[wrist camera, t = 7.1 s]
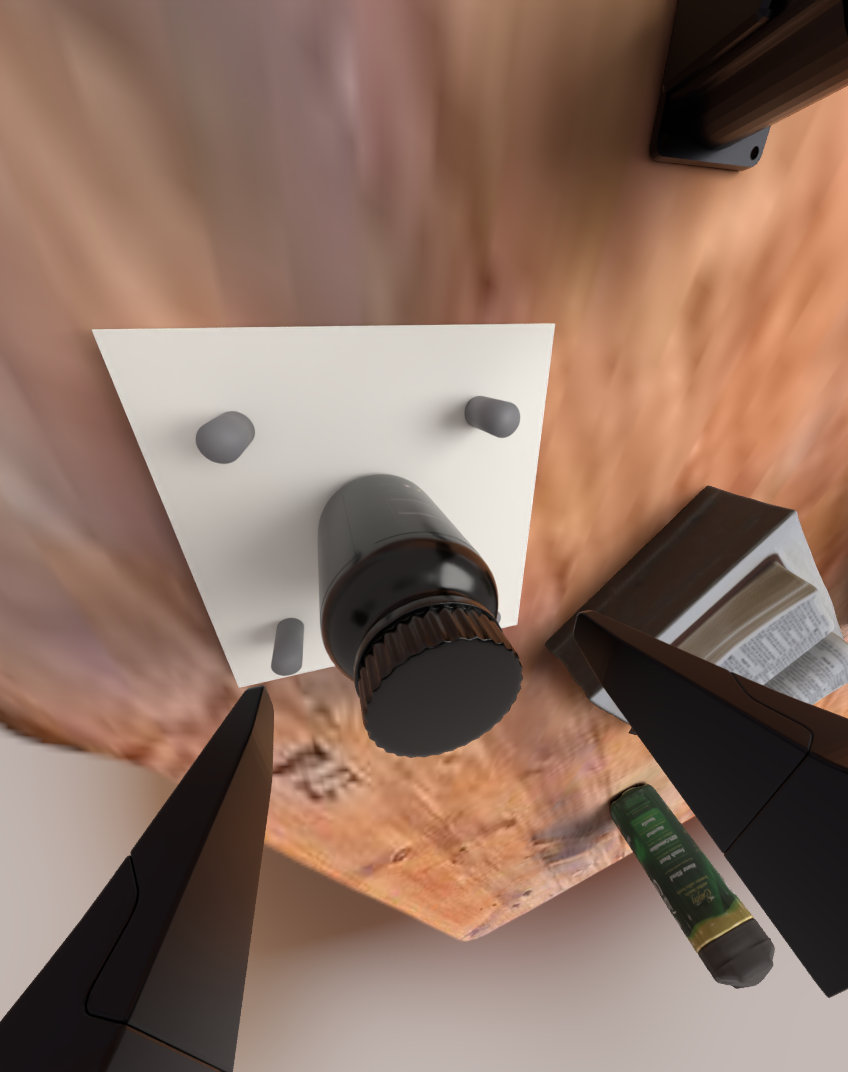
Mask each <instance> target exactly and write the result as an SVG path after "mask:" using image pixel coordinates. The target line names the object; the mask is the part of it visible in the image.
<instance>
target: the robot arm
mask: <svg viewBox="0 0 848 1072" xmlns="http://www.w3.org/2000/svg"><path fill="white" fill-rule="evenodd" d="M846 86H848V0H678V5H677V10H676V15H675V20H674V25H673V30H672V35H671V41H670V46H669V51H668V56H667V61H666V66H665V71H664V76H663V81H662V86H661V92H660V97H659V102H658V107H657V112H656V117H655V122H654V127H653V132H652V138H651V143H650V156H651V157H652V159H653V160H655V161H662V162H671V163H680V164H689V165H697V166H706V167H715V168H723V169H732V170H741V171H743V170H746V169H749V168H751V167H753V166H755V165H756V164H757V163H758V161H759V160H760V158H761V155H762V153H763V149H764V146H765V143H766V140H767V136H768V133H769V130H770V126H771V125H773V124H775V123H777V122H778V121H780V120H782V119H784V118H786V117H788V116H790V115H792V114H794V113H796V112H798V111H800V110H802V109H804V108H806V107H808V106H809V105H811V104H813V103H815V102H817V101H819V100H821V99H823V98H825V97H827V96H829V95H831V94H833V93H835V92H837V91H839V90H841V89H842V88H844V87H846ZM662 140H663V148H662V146H661V141H662ZM573 636H574V639H575V641H576V643H577V645H578V646H579V648H580V650H581V651H582V653H583V655H584V657H585V658H586V660H587V662H588V663H589V665H590V667H591V668H592V670H593V672H594V674H595V675H596V677H597V679H598V680H599V682H600V683H601V685H602V686H603V688H604V689H605V691H606V692H607V694H608V695H609V696H610V698H611V699H612V701H613V702H614V703H615V705H616V706H617V708H618V709H619V710H620V712H621V713H622V714H623V716H624V717H625V719H626V720H627V721H628V723H629V724H630V726H631V727H632V728H633V730H634V731H635V732H636V734H637V735H638V737H639V738H640V739H641V741H642V742H643V744H644V745H645V746H646V748H647V749H648V750H649V752H650V753H651V755H652V756H653V757H654V759H655V760H656V762H657V763H658V764H659V766H660V767H661V768H662V770H663V771H664V773H665V774H666V775H667V777H668V778H669V780H670V781H671V782H672V784H673V785H674V787H675V788H676V789H677V791H678V792H679V793H680V795H681V796H682V798H683V799H684V800H685V802H686V803H687V805H688V806H689V807H690V809H691V810H692V811H693V813H694V814H695V816H696V817H697V818H698V820H699V821H700V822H701V824H702V825H703V826H704V828H705V829H706V830H707V832H708V834H709V835H710V836H711V838H712V839H713V840H714V842H715V843H716V845H717V846H718V848H719V849H720V850H721V852H722V853H724V856H725V858H726V859H727V860H728V861H729V863H730V864H731V866H732V867H733V868H734V870H735V871H736V873H737V874H738V876H739V877H740V878H741V880H742V881H743V882H744V884H745V885H746V887H747V888H748V889H749V891H750V892H751V894H752V895H753V896H754V897H755V899H756V900H757V902H758V903H759V905H760V906H761V907H762V909H763V910H764V911H765V913H766V914H767V916H768V917H769V919H770V920H771V921H772V923H773V924H774V925H775V927H776V928H777V929H778V931H779V932H780V934H781V935H782V937H783V938H784V939H785V941H786V942H787V943H788V945H789V946H790V947H791V949H792V950H793V952H794V953H795V955H796V956H797V957H798V959H799V960H800V961H801V963H802V964H803V966H804V967H805V968H806V970H807V971H808V973H809V974H810V975H811V977H812V978H813V980H814V981H815V982H816V983H817V985H818V986H819V987H820V988H821V990H822V991H823V992H824V993H825V995H826V996H827V997H828V998H830V997H832V996H835V995H837V994H839V993H841V992H843V991H845V990H847V989H848V719H847V718H845V717H842V716H840V715H837V714H834V713H832V712H829V711H827V710H824V709H821V708H819V707H816V706H814V705H811V704H808V703H806V702H803V701H801V700H798V699H796V698H793V697H791V696H788V695H786V694H783V693H781V692H778V691H775V690H773V689H771V688H768V687H766V686H764V685H761V684H759V683H757V682H754V681H752V680H750V679H747V678H745V677H743V676H741V675H738V674H736V673H734V672H729V670H727V669H725V668H722V667H720V666H718V665H715V664H713V663H711V662H709V661H706V660H704V659H702V658H700V657H697V656H695V655H693V654H690V653H688V652H686V651H684V650H681V649H679V648H677V647H675V646H672V645H670V644H668V643H665V642H663V641H661V640H659V639H656V638H654V637H652V636H650V635H647V634H645V633H643V632H641V631H638V630H636V629H634V628H631V627H629V626H627V625H625V624H622V623H620V622H618V621H616V620H613V619H611V618H609V617H606V616H604V615H602V614H600V613H597V612H595V611H592V610H588V611H583V612H580V613H578V615H577V617H576V622H575V626H574V631H573ZM273 732H274V710H273V705H272V702H271V700H270V697H269V694H268V691H267V689H266V687H265V686H263V685H261V686H256V687H252V688H248V689H247V690H246V691H245V692H244V693H243V694H242V696H241V697H240V699H239V700H238V701H237V703H236V704H235V706H234V707H233V708H232V710H231V711H230V713H229V714H228V715H227V717H226V718H225V720H224V721H223V722H222V724H221V725H220V727H219V728H218V729H217V731H216V732H215V734H214V735H213V737H212V738H211V739H210V741H209V742H208V744H207V745H206V746H205V748H204V749H203V751H202V752H201V753H200V755H199V756H198V758H197V759H196V760H195V762H194V763H193V765H192V766H191V767H190V769H189V770H188V772H187V773H186V774H185V776H184V777H183V779H182V780H181V781H180V783H179V784H178V786H177V787H176V788H175V790H174V791H173V793H172V794H171V796H170V797H169V798H168V800H167V801H166V803H165V804H164V805H163V807H162V808H161V810H160V811H159V812H158V814H157V815H156V817H155V818H154V819H153V821H152V822H151V824H150V825H149V826H148V828H147V829H146V831H145V832H144V833H143V835H142V836H141V838H140V839H139V840H138V842H137V843H136V845H135V846H134V847H133V849H132V851H131V856H127V857H126V858H125V860H124V861H123V863H122V864H121V865H120V867H119V868H118V870H117V871H116V872H115V874H114V875H113V877H112V878H111V879H110V881H109V882H108V884H107V885H106V886H105V888H104V889H103V890H102V892H101V893H100V894H99V896H98V897H97V899H96V900H95V901H94V903H93V904H92V906H91V907H90V908H89V910H88V911H87V912H86V913H85V915H84V916H83V918H82V919H81V920H80V922H79V923H78V924H77V925H76V927H75V928H74V929H73V931H72V932H71V933H70V934H69V936H68V937H67V938H66V940H65V941H64V942H63V944H62V945H61V946H60V947H59V949H58V950H57V951H56V952H55V954H54V955H53V956H52V957H51V959H50V960H49V961H48V963H47V964H46V965H45V966H44V968H43V969H42V970H41V971H40V973H39V974H38V975H37V977H36V978H35V979H34V980H33V981H32V983H31V984H30V985H29V986H28V988H27V989H26V990H25V991H24V993H23V994H22V995H21V996H20V998H19V999H18V1000H17V1002H16V1003H15V1004H14V1005H13V1006H12V1008H11V1009H10V1010H9V1011H8V1013H7V1014H6V1015H5V1016H4V1018H3V1019H2V1020H1V1021H0V1072H233V1066H234V1059H235V1051H236V1044H237V1037H238V1030H239V1022H240V1015H241V1007H242V1000H243V992H244V985H245V977H246V970H247V963H248V956H249V948H250V940H251V934H252V925H253V919H254V911H255V904H256V896H257V889H258V882H259V875H260V867H261V860H262V852H263V845H264V838H265V830H266V823H267V815H268V808H269V801H270V793H271V785H272V770H273Z"/></svg>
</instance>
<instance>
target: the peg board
mask: <svg viewBox="0 0 848 1072" xmlns="http://www.w3.org/2000/svg"><path fill="white" fill-rule="evenodd" d="M554 329H555V323H554V324H476V325H398V326H320V327H241V328H163V329H91V330H92V332H93V334H94V337H95V339H96V342H97V344H98V347H99V349H100V351H101V354H102V356H103V359H104V361H105V364H106V366H107V368H108V371H109V373H110V376H111V378H112V381H113V383H114V386H115V388H116V390H117V393H118V395H119V398H120V400H121V403H122V405H123V407H124V410H125V412H126V415H127V417H128V420H129V422H130V424H131V427H132V429H133V432H134V434H135V437H136V439H137V441H138V444H139V446H140V449H141V451H142V454H143V456H144V458H145V461H146V463H147V466H148V468H149V471H150V473H151V475H152V478H153V480H154V483H155V485H156V488H157V490H158V492H159V495H160V497H161V500H162V502H163V505H164V507H165V509H166V512H167V514H168V517H169V519H170V522H171V524H172V526H173V529H174V531H175V534H176V536H177V539H178V541H179V543H180V546H181V548H182V551H183V553H184V556H185V558H186V560H187V563H188V565H189V568H190V570H191V573H192V575H193V577H194V580H195V582H196V585H197V587H198V590H199V592H200V594H201V597H202V599H203V602H204V604H205V607H206V609H207V611H208V614H209V616H210V619H211V621H212V624H213V626H214V628H215V631H216V633H217V636H218V638H219V641H220V643H221V645H222V648H223V650H224V653H225V655H226V658H227V660H228V662H229V665H230V667H231V670H232V672H233V675H234V677H235V679H236V682H237V684H238V687H239V688H240V687H244V686H248V685H253V684H257V683H262V682H266V681H271V680H275V679H279V678H284V677H288V676H293V675H297V674H301V673H306V672H310V671H315V670H319V669H324V668H328V667H332V666H335V665H334V663H333V662H332V661H331V659H330V658H329V656H328V654H327V652H326V650H325V647H324V644H323V641H322V636H321V628H320V611H319V577H318V543H317V542H318V525H319V520H320V516H321V514H322V511H323V509H324V507H325V505H326V504H327V502H328V501H329V499H330V498H331V497H332V496H333V495H334V494H335V493H336V492H337V491H338V490H339V489H340V488H341V487H343V486H344V485H346V484H347V483H349V482H351V481H353V480H355V479H357V478H360V477H363V476H367V475H373V474H390V475H395V476H399V477H402V478H405V479H407V480H409V481H411V482H413V483H414V484H416V485H417V486H418V487H420V488H421V489H422V490H423V491H424V492H425V493H426V494H427V495H428V496H429V497H430V498H431V499H432V501H433V502H434V503H435V504H436V505H437V506H438V507H439V509H440V510H441V511H442V512H443V513H444V514H445V515H446V517H447V518H448V519H449V520H450V521H451V522H452V523H453V525H454V526H455V527H456V528H457V529H458V530H459V531H460V533H461V534H462V535H463V536H464V537H465V538H466V539H467V541H468V542H469V543H470V544H471V545H472V546H473V547H474V549H475V550H476V551H477V552H478V553H479V554H480V556H481V557H482V558H483V560H484V561H485V562H486V564H487V565H488V567H489V568H490V570H491V572H492V574H493V576H494V579H495V582H496V585H497V590H498V602H499V605H498V615H497V622H498V623H499V625H500V627H501V628H504V627H509V626H513V625H517V621H518V613H519V605H520V597H521V590H522V582H523V574H524V566H525V558H526V550H527V542H528V534H529V526H530V518H531V511H532V503H533V495H534V487H535V479H536V471H537V463H538V455H539V447H540V440H541V432H542V424H543V416H544V408H545V400H546V392H547V384H548V376H549V368H550V361H551V353H552V345H553V337H554Z"/></svg>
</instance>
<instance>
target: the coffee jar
mask: <svg viewBox="0 0 848 1072" xmlns="http://www.w3.org/2000/svg"><path fill="white" fill-rule="evenodd" d="M611 816H612V819H613V821H614V822H615V824H616V826H617V827H618V829H619V830H620V832H621V834H622V835H623V837H624V838H625V840H626V841H627V843H628V844H629V846H630V848H631V849H632V851H633V852H634V854H635V855H636V857H637V859H638V860H639V862H640V864H641V865H642V867H643V869H644V870H645V871H646V873H647V875H648V877H649V878H650V880H651V881H652V883H653V885H654V886H655V888H656V889H657V891H658V893H659V894H660V896H661V897H662V899H663V901H664V902H665V904H666V905H667V907H668V909H669V910H670V912H671V913H672V914H673V916H674V918H675V919H676V921H677V922H678V924H679V926H680V927H681V929H682V930H683V932H684V934H685V935H686V937H687V938H688V940H689V941H690V943H691V944H692V946H693V948H694V949H695V951H696V952H697V953H698V955H699V957H700V958H701V960H702V961H703V963H704V964H705V966H706V967H707V969H708V970H709V972H710V973H711V974H712V976H713V978H714V979H715V981H717V982H718V983H721V984H725V985H731V986H733V987H734V988H737V989H738V988H744V987H750V986H755V985H757V984H759V983H760V982H761V981H762V980H763V979H764V978H765V976H766V975H767V974H768V972H769V971H770V970H771V968H772V967H773V961H772V959H773V955H774V950H775V948H774V945H773V943H772V942H771V939H770V938H768V936H767V935H766V933H765V932H764V931H763V929H762V928H761V927H760V925H759V924H758V922H757V921H756V920H755V919H754V918H753V916H752V915H751V913H750V912H749V911H748V910H747V908H746V907H745V906H744V905H743V903H742V902H741V901H740V900H739V898H738V897H737V896H736V895H735V893H734V892H733V891H732V889H731V888H730V887H729V886H728V884H727V883H726V882H725V881H724V879H723V878H722V877H721V875H720V874H719V873H718V872H717V870H716V869H715V868H714V866H713V865H712V864H711V863H710V861H709V860H708V859H707V857H706V856H705V855H704V853H703V852H702V851H701V849H700V848H699V847H698V845H697V844H696V843H695V842H694V840H693V839H692V838H691V836H690V835H689V834H688V832H687V831H686V830H685V829H684V827H683V826H682V825H681V823H680V822H679V821H678V819H677V818H676V817H675V815H674V814H673V813H672V811H671V810H670V809H669V807H668V806H667V805H666V803H665V802H664V801H663V799H662V798H661V797H660V795H659V794H658V793H657V791H656V790H655V789H654V788H653V787H652V786H651V785H649V784H645V785H643V786H639V787H632V788H630V789H628V790H626V791H625V792H623V793H622V796H621V797H620V798H618V799H617V800H616V801H614V802H613V803H612V804H611Z"/></svg>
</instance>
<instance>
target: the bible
mask: <svg viewBox="0 0 848 1072" xmlns="http://www.w3.org/2000/svg"><path fill="white" fill-rule="evenodd" d="M588 610H592V611H595V612H597V613H600V614H602V615H604V616H606V617H609V618H611V619H613V620H616V621H618V622H620V623H622V624H625V625H627V626H629V627H631V628H634V629H636V630H638V631H641V632H643V633H645V634H647V635H650V636H652V637H654V638H656V639H659V640H661V641H663V642H665V643H668V644H670V645H672V646H675V647H677V648H679V649H681V650H684V651H686V652H688V653H690V654H693V655H695V656H697V657H700V658H702V659H704V660H706V661H709V662H711V663H713V664H715V665H718V666H720V667H722V668H725V669H727V670H729V672H734V673H736V674H738V675H741V676H743V677H745V678H747V679H750V680H752V681H754V682H757V683H759V684H761V685H764V686H766V687H768V688H771V689H773V690H775V691H778V692H781V693H783V694H786V695H788V696H791V697H793V698H796V699H798V700H801V701H803V702H806V703H808V704H811V705H813V704H815V703H816V702H818V701H819V700H821V699H822V698H824V697H825V696H827V695H828V694H830V693H832V692H833V691H835V690H837V689H838V688H840V687H842V686H843V685H845V684H847V683H848V643H846V642H845V641H844V640H843V639H844V638H843V635H842V632H841V630H840V626H839V624H838V622H837V618H836V614H835V610H834V607H833V604H832V601H831V598H830V596H829V593H828V591H827V589H826V587H825V585H824V583H823V581H822V578H821V576H820V574H819V572H818V569H817V567H816V565H815V562H814V560H813V557H812V554H811V551H810V549H809V546H808V544H807V541H806V539H805V536H804V534H803V531H802V528H801V524H800V522H799V519H798V515H797V511H795V510H792V509H787V508H783V507H779V506H775V505H771V504H767V503H764V502H760V501H757V500H754V499H751V498H747V497H743V496H739V495H736V494H733V493H730V492H727V491H724V490H721V489H718V488H715V487H712V486H707V487H706V488H705V489H703V490H702V491H701V492H700V493H699V494H698V495H697V496H696V497H695V498H694V499H693V500H692V501H691V502H690V503H689V504H688V505H687V506H686V507H685V508H684V509H683V510H682V511H681V512H680V513H679V514H678V515H677V516H676V517H675V518H674V519H673V520H672V521H671V522H670V523H669V524H668V525H667V526H666V527H665V528H664V529H663V530H661V531H660V532H659V533H658V534H657V535H656V536H655V537H654V538H653V539H652V540H651V541H650V542H649V543H647V544H646V545H645V546H644V547H643V548H642V549H641V550H640V551H639V552H638V553H637V554H636V555H635V556H634V557H633V558H632V559H631V560H630V561H629V562H628V563H627V564H626V565H625V566H624V567H623V568H622V569H621V570H620V571H619V572H618V573H617V574H616V575H615V576H614V577H613V578H612V579H611V580H609V581H608V582H607V583H606V584H605V585H604V586H603V588H602V589H601V590H600V591H598V592H597V593H596V594H595V595H594V596H593V597H592V598H591V599H590V600H589V601H588V602H587V603H586V604H585V605H583V606H582V607H581V608H580V609H579V610H578V611H577V612H576V613H575V615H574V616H573V617H572V618H571V619H570V620H569V621H568V622H567V623H565V624H564V625H563V626H562V627H561V628H560V629H559V630H558V631H557V632H556V633H555V634H554V635H553V636H552V637H551V638H550V639H549V640H548V641H547V642H546V643H545V646H547V648H548V649H549V651H550V652H551V653H552V654H554V655H555V656H556V657H558V658H559V659H560V660H561V661H562V662H563V663H564V664H565V666H566V667H567V669H568V671H569V672H570V674H571V676H572V677H573V679H574V680H575V681H576V682H577V684H578V685H580V686H581V687H582V689H583V690H584V691H585V694H586V696H587V698H588V699H589V700H590V701H591V702H592V703H593V704H595V705H596V706H598V707H599V708H601V709H603V710H604V711H606V712H608V713H609V714H612V715H614V716H615V717H617V718H619V719H620V720H622V721H624V722H626V723H628V721H627V720H626V719H625V717H624V716H623V714H622V713H621V712H620V710H619V709H618V708H617V706H616V705H615V703H614V702H613V701H612V699H611V698H610V696H609V695H608V694H607V692H606V691H605V689H604V688H603V686H602V685H601V683H600V682H599V680H598V679H597V677H596V675H595V674H594V672H593V670H592V668H591V667H590V665H589V663H588V662H587V660H586V658H585V657H584V655H583V653H582V651H581V650H580V648H579V646H578V645H577V643H576V641H575V639H574V636H573V631H574V626H575V622H576V617H577V615H578V613H580V612H583V611H588ZM628 724H629V723H628ZM629 733H630V734H634V735H637V734H636V732H635V731H634V730H633V728H631V730H630V731H629Z"/></svg>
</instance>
